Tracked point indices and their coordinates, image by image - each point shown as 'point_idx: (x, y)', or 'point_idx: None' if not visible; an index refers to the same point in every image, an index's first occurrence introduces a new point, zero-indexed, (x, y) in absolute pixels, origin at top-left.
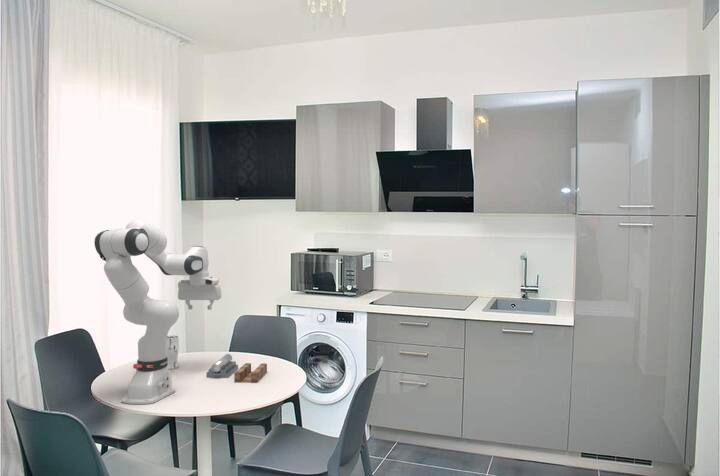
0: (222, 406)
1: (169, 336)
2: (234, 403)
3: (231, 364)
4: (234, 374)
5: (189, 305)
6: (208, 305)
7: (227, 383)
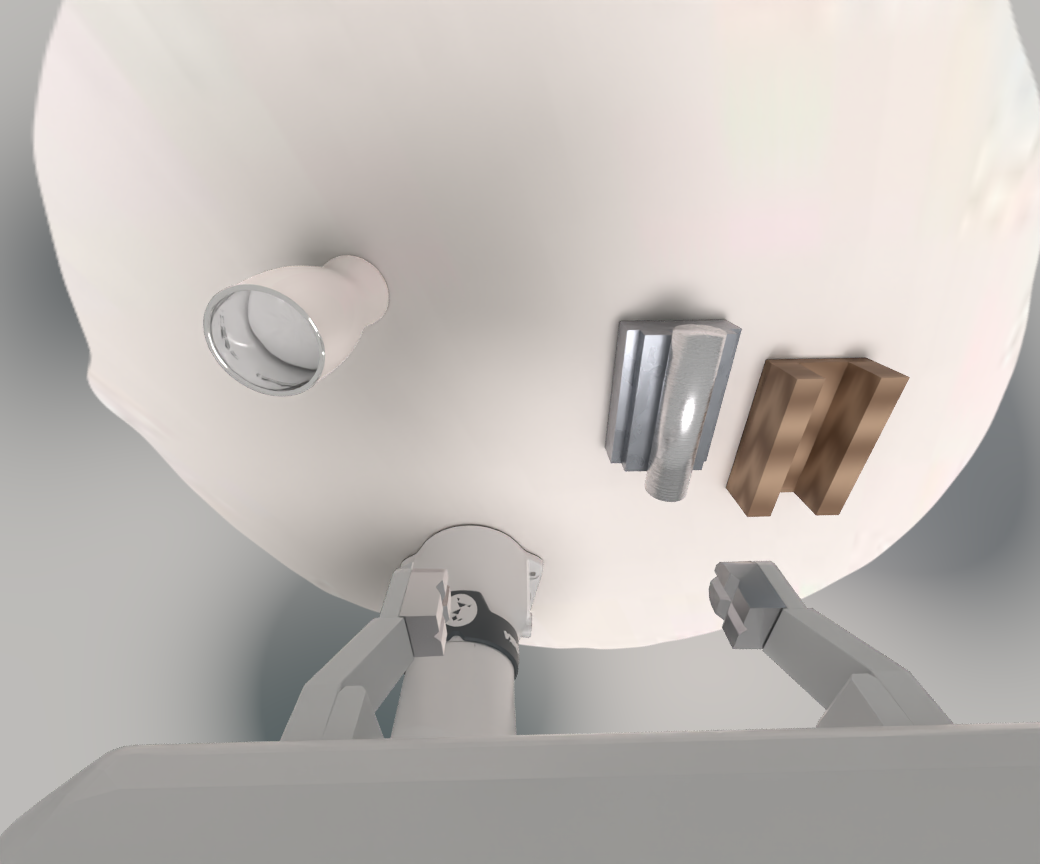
0: (710, 625)
1: (219, 302)
2: None
3: (719, 389)
4: (745, 513)
5: (411, 655)
6: (747, 619)
7: (697, 478)
